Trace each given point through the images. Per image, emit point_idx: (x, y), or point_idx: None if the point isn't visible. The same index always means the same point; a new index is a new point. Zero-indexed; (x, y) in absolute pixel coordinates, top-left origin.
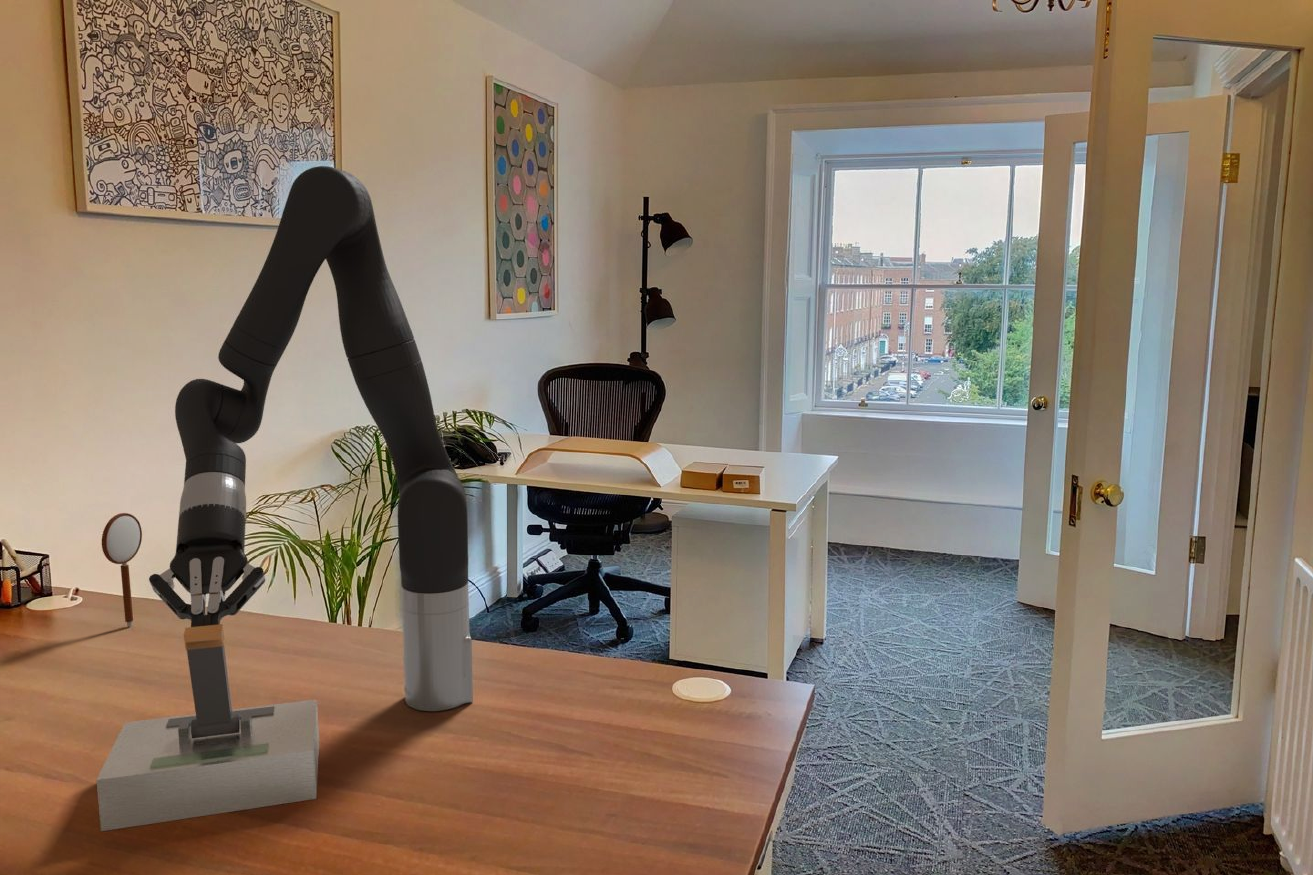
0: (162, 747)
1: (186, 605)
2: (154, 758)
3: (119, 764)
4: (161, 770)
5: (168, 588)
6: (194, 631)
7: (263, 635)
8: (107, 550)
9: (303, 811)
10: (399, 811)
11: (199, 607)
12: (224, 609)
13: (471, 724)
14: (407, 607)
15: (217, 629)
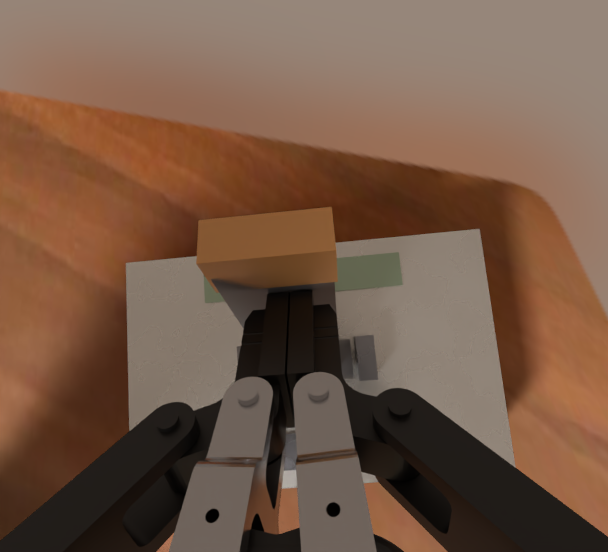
0: (400, 332)
1: (375, 431)
2: (400, 282)
3: (459, 280)
4: (376, 241)
5: (502, 514)
6: (296, 225)
7: None
8: None
9: (178, 246)
10: (50, 219)
11: (307, 398)
12: (205, 412)
13: None
14: None
15: (213, 232)
